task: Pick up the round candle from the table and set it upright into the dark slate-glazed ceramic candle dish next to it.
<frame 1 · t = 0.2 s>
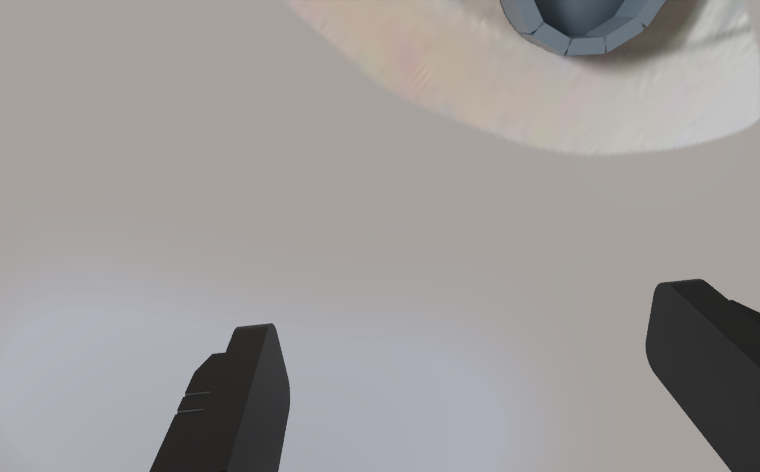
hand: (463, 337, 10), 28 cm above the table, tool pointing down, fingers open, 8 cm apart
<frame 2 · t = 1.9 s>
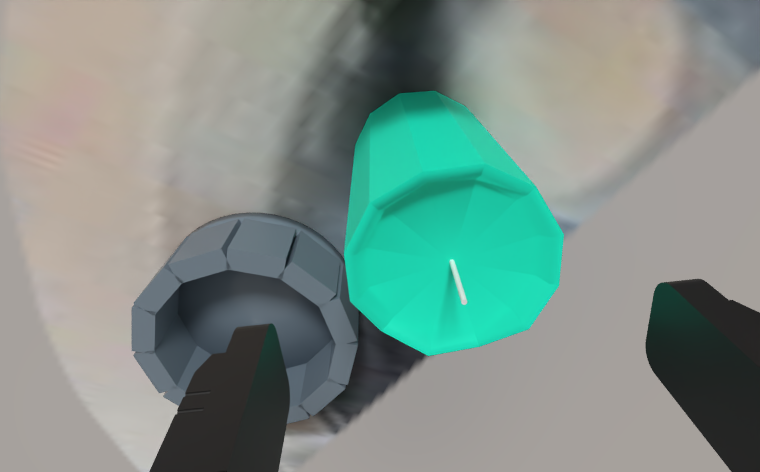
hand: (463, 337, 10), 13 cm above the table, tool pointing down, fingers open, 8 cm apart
candle: (419, 154, 23), on the table
candle dish: (262, 299, 26), on the table
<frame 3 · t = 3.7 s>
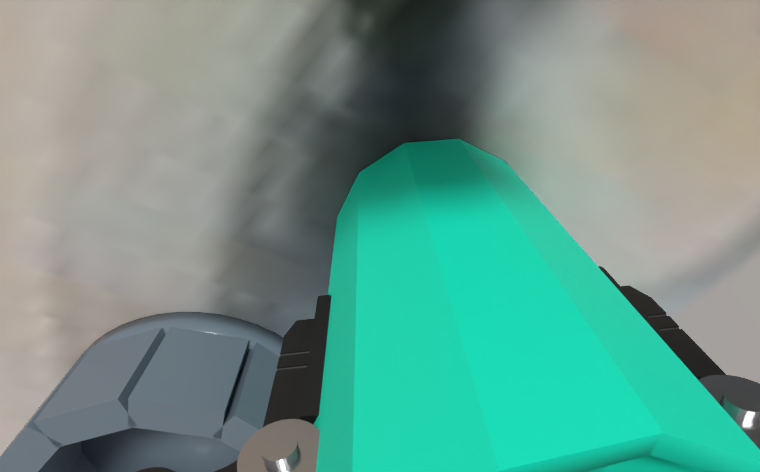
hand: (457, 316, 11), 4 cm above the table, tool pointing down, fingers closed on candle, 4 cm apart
candle: (432, 230, 15), on the table, touching gripper
candle dish: (207, 423, 18), on the table
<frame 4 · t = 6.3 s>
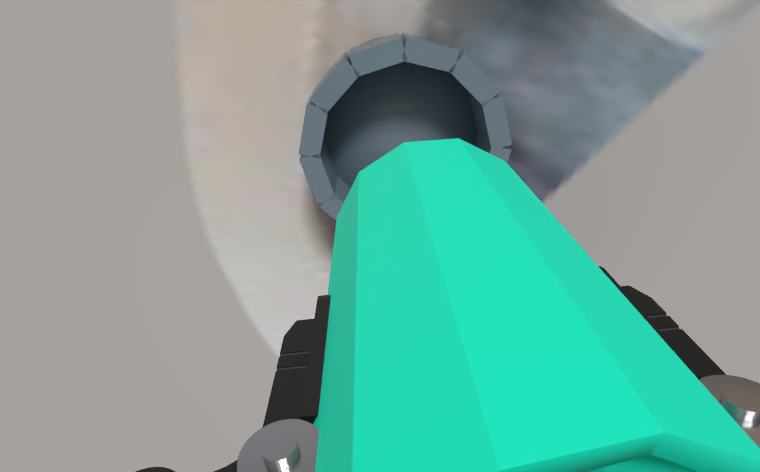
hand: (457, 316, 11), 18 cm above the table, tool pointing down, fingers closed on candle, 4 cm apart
candle: (432, 229, 15), point 13 cm above the table, touching gripper
candle dish: (399, 132, 27), on the table
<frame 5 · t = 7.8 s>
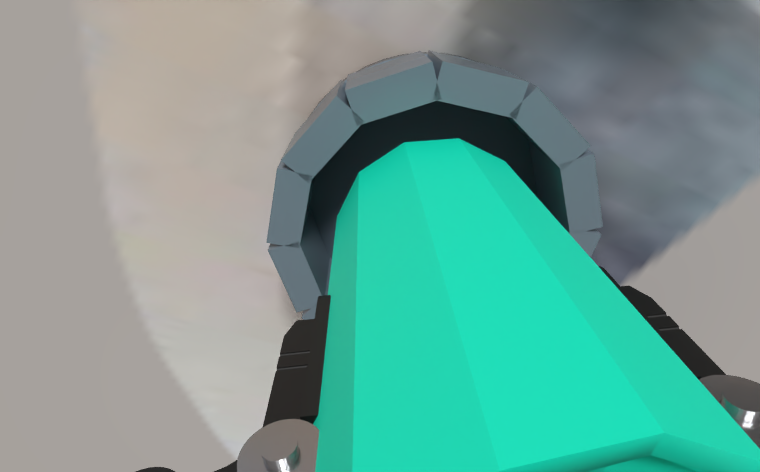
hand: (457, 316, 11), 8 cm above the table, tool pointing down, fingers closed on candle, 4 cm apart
candle: (432, 229, 15), point 4 cm above the table, touching gripper
candle dish: (421, 192, 18), on the table
when the fingers open (6 cm above the table, at t = 9.1 s): candle stays where it is, resting on candle dish.
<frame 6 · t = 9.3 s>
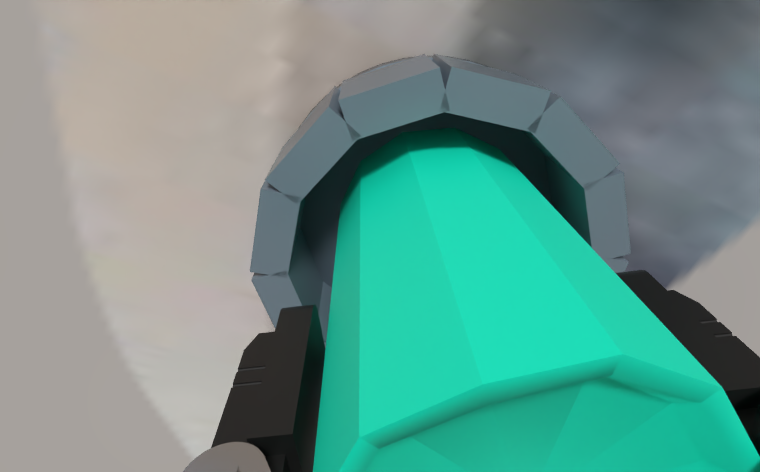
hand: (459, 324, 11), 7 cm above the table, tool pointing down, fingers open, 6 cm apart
candle: (431, 215, 16), point 1 cm above the table, touching candle dish
candle dish: (424, 209, 17), on the table
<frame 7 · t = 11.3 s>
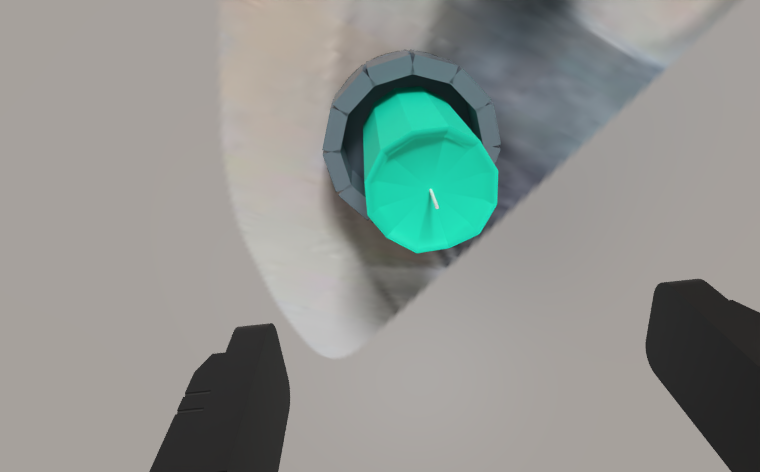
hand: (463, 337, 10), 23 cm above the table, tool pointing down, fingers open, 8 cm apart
candle: (409, 133, 31), point 1 cm above the table, touching candle dish
candle dish: (406, 132, 32), on the table
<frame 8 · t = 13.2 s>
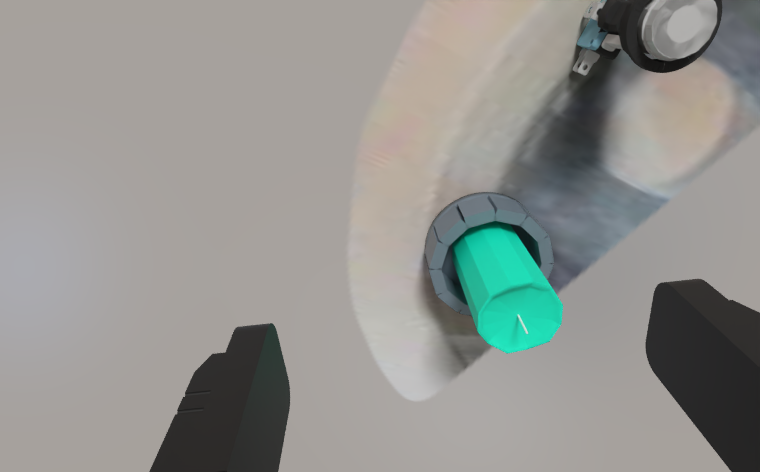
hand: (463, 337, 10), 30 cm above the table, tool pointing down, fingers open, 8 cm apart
candle: (484, 247, 43), point 1 cm above the table, touching candle dish
push button: (596, 27, 36), on the table
candle dish: (480, 244, 43), on the table
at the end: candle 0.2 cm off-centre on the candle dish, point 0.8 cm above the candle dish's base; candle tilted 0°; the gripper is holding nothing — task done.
